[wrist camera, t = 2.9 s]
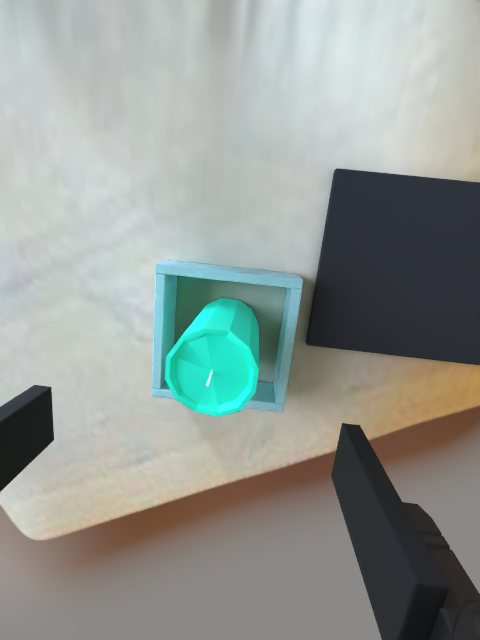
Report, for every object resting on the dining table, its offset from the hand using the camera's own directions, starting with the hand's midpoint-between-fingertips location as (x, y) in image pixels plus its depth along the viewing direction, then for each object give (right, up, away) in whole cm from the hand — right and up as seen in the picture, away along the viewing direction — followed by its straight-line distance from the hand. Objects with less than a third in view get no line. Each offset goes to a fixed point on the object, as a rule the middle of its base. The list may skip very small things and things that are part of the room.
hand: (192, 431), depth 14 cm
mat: (+18, +9, +13) cm, 24 cm away
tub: (+1, +4, +16) cm, 16 cm away
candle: (+1, +4, +16) cm, 16 cm away
